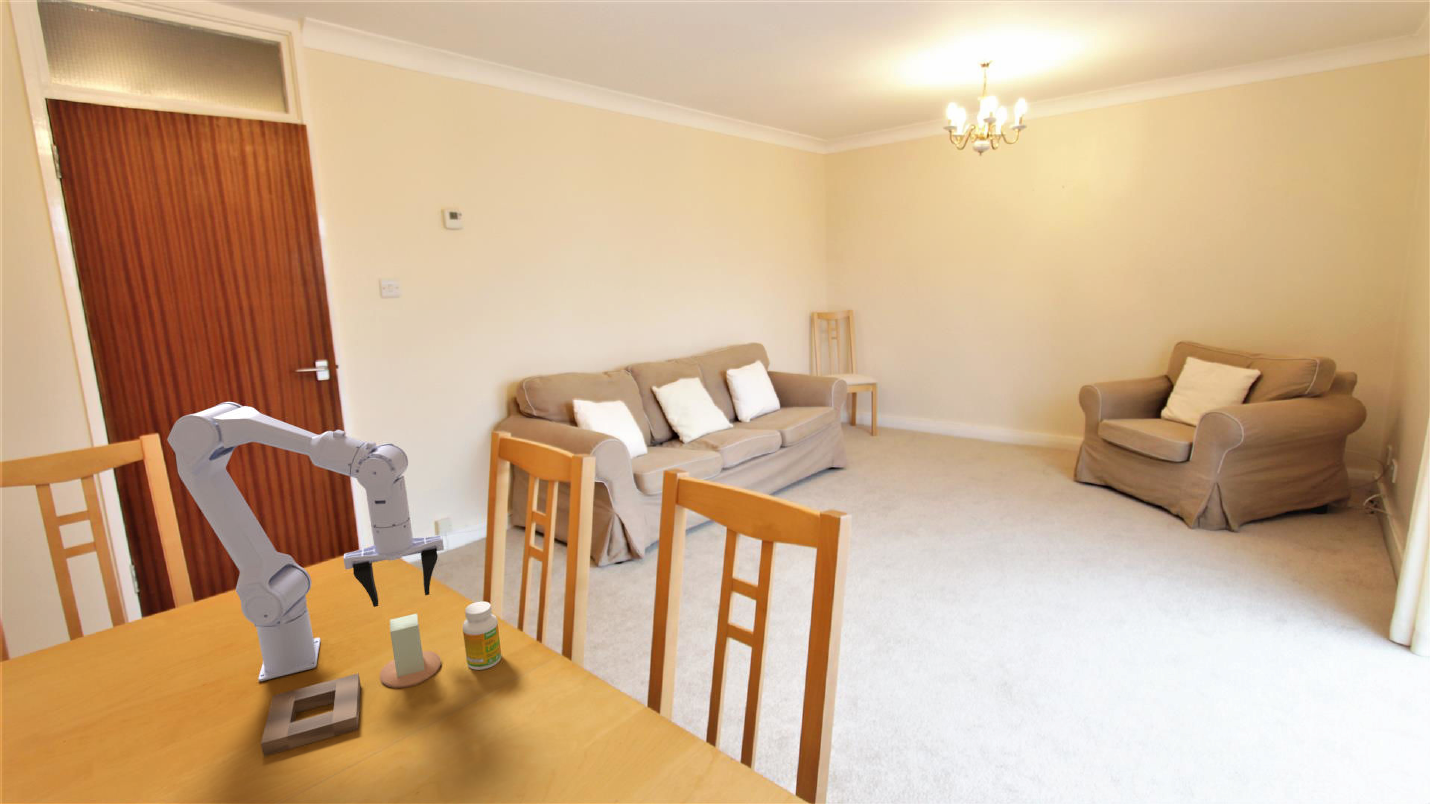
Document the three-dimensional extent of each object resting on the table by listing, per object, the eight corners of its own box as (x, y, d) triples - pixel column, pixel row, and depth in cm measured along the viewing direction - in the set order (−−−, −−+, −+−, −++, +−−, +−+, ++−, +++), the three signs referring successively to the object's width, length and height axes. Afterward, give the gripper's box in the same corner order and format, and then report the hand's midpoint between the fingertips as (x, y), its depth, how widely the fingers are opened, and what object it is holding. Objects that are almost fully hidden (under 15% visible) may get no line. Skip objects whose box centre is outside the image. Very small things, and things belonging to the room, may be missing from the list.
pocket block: (275, 707, 101) (273, 695, 101) (360, 684, 106) (358, 673, 106) (263, 756, 91) (260, 743, 91) (358, 729, 96) (356, 716, 95)
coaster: (380, 663, 111) (379, 660, 111) (438, 648, 115) (438, 645, 115) (380, 694, 103) (379, 691, 103) (443, 677, 107) (442, 674, 107)
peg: (396, 664, 110) (389, 619, 108) (423, 657, 112) (416, 613, 110) (397, 677, 106) (390, 631, 105) (424, 670, 108) (418, 625, 106)
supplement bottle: (490, 672, 108) (484, 617, 106) (460, 669, 109) (453, 614, 107) (507, 653, 113) (501, 600, 111) (478, 650, 114) (472, 597, 112)
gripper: (337, 539, 102) (351, 620, 105) (440, 520, 108) (450, 598, 111) (340, 523, 108) (353, 600, 111) (437, 506, 114) (447, 580, 117)
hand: (401, 598), depth 111 cm, fingers open, 7 cm apart
